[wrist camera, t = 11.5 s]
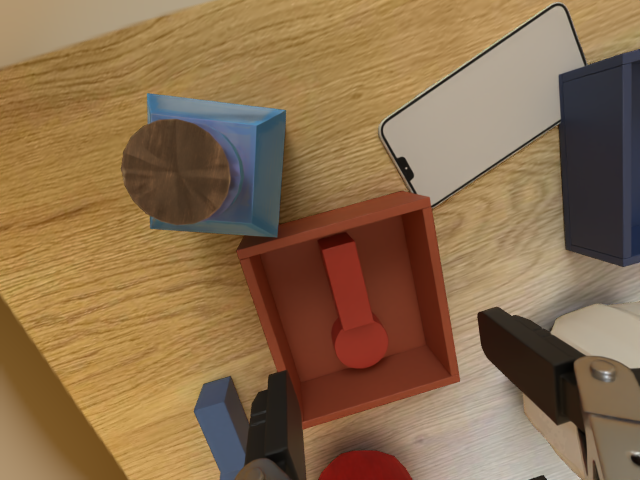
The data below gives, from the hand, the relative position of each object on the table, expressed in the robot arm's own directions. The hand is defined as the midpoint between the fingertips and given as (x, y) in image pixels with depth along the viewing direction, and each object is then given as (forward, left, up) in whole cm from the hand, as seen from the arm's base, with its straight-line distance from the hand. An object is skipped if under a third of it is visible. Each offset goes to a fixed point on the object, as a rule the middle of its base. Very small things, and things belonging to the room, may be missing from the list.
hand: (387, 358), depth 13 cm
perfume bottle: (-9, -5, -12) cm, 15 cm away
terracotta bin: (+2, 0, -11) cm, 12 cm away
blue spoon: (+11, -11, -11) cm, 20 cm away
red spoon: (+2, 0, -11) cm, 11 cm away
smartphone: (-8, +13, -12) cm, 19 cm away
